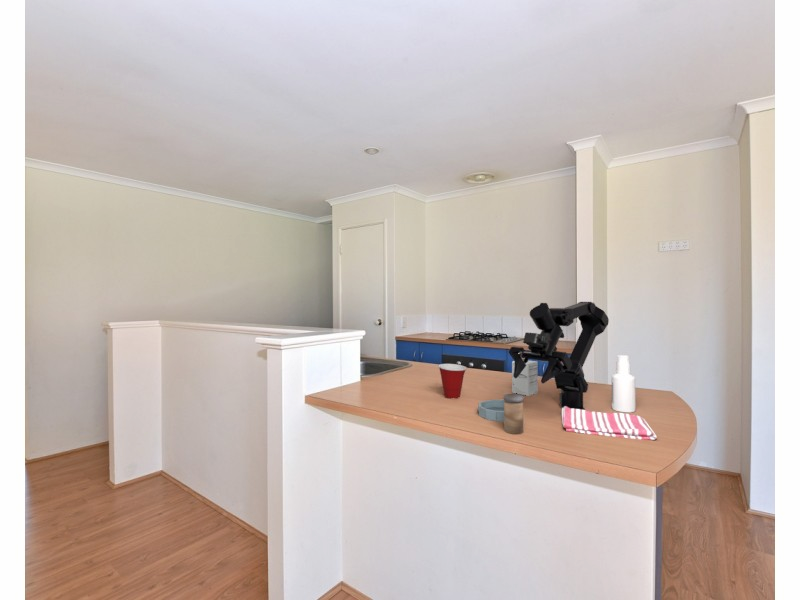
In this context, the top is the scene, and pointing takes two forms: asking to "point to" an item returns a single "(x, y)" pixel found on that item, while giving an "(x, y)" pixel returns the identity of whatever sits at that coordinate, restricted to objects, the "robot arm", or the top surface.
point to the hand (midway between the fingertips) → (527, 380)
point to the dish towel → (606, 424)
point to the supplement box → (526, 379)
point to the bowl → (492, 410)
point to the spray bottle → (623, 386)
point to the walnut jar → (513, 413)
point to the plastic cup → (452, 379)
